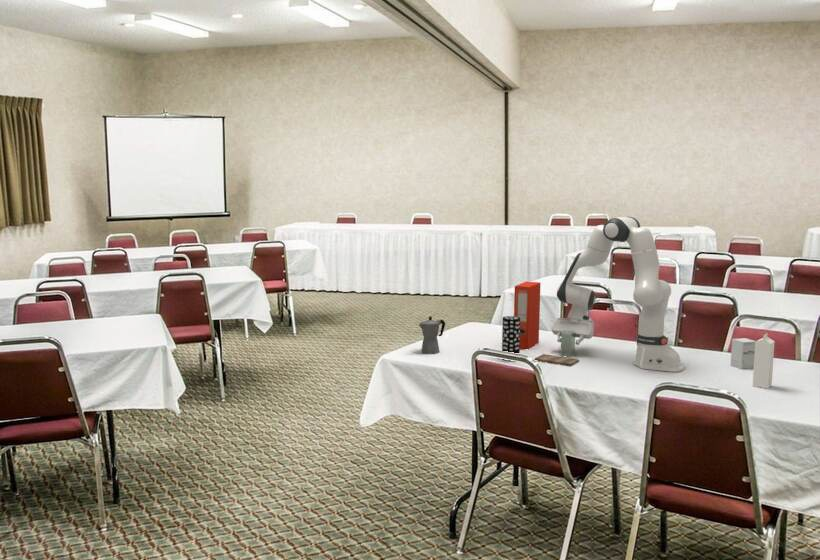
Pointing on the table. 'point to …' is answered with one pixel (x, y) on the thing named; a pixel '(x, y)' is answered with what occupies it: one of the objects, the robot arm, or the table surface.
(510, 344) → the spotted tube
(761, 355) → the milk
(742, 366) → the supplement box
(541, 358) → the board
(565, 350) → the tea tin
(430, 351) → the coffeepot
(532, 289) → the file binder
